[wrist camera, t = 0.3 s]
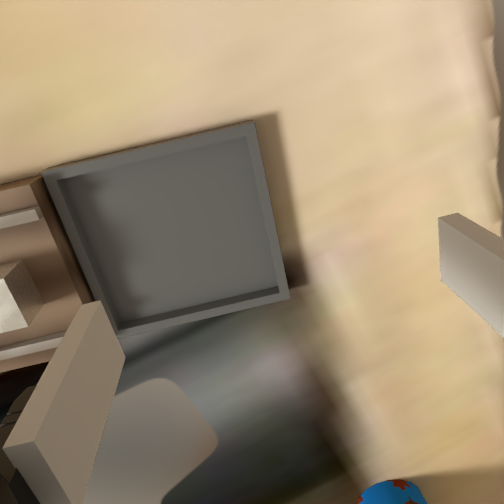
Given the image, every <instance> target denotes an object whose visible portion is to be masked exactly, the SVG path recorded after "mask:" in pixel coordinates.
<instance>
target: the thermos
mask: <svg viewBox="0 0 504 504" xmlns="http://www.w3.org/2000/svg"><path fill="white" fill-rule="evenodd" d="M356 504H427V502H426V501H425V499H424V497H423V495H422V494H421V492H420V490H419V488H418V487H417V486H415V485H414V484H412V483H411V482H408V481H404V480H388V481H384V482H381V483H377V484H375V485H374V486H372V487H370V488H368V489H367V490H366V491H365V492H364V493H363V494H362V495H361V496H360V497H359V498H358V500H357V502H356Z"/></svg>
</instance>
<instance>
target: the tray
mask: <svg viewBox="0 0 504 504" xmlns="http://www.w3.org/2000/svg"><path fill="white" fill-rule="evenodd" d="M41 174H42V176H43V178H44V181H45V183H46V185H47V188H48V190H49V192H50V195H51V197H52V199H53V202H54V204H55V206H56V209H57V211H58V214H59V216H60V218H61V221H62V223H63V225H64V228H65V230H66V232H67V235H68V237H69V239H70V242H71V244H72V246H73V249H74V251H75V253H76V256H77V258H78V260H79V263H80V265H81V268H82V270H83V272H84V275H85V277H86V279H87V282H88V284H89V286H90V289H91V291H92V293H93V296H94V298H95V300H96V301H99V300H101V303H102V305H103V307H104V309H105V312H106V314H107V316H108V319H109V321H110V323H111V326H112V328H113V330H114V332H115V335H116V337H117V339H120V338H124V337H128V336H133V335H137V334H141V333H145V332H150V331H154V330H158V329H163V328H167V327H171V326H175V325H180V324H184V323H188V322H192V321H197V320H201V319H205V318H210V317H214V316H218V315H222V314H227V313H231V312H235V311H239V310H244V309H248V308H252V307H257V306H261V305H265V304H269V303H274V302H278V301H282V300H286V299H290V294H289V289H288V284H287V279H286V274H285V269H284V265H283V260H282V255H281V250H280V245H279V240H278V235H277V230H276V225H275V220H274V216H273V211H272V206H271V201H270V196H269V191H268V186H267V181H266V176H265V171H264V167H263V162H262V157H261V152H260V147H259V142H258V137H257V132H256V127H255V122H254V121H253V120H250V121H246V122H242V123H237V124H233V125H229V126H224V127H220V128H216V129H212V130H207V131H203V132H199V133H195V134H190V135H186V136H182V137H178V138H173V139H169V140H165V141H161V142H156V143H152V144H148V145H144V146H139V147H135V148H131V149H127V150H122V151H118V152H114V153H110V154H105V155H101V156H97V157H93V158H88V159H84V160H80V161H75V162H71V163H67V164H63V165H58V166H54V167H50V168H48V169H46V170H44V171H43V172H41Z"/></svg>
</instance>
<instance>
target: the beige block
mask: <svg viewBox="0 0 504 504" xmlns="http://www.w3.org/2000/svg"><path fill="white" fill-rule="evenodd" d="M43 305H44V303H43V301H42V298H41V296H40V294H39V292H38V290H37V288H36V286H35V284H34V282H33V280H32V278H31V276H30V274H29V272H28V270H27V268H26V266H25V264H24V261H23V259H21V260H17V261H13V262H9V263H4V264H0V333H4V332H8V331H12V330H16V329H21V328H25V327H28V326H29V325H30V324H31V322H32V321H33V319H34V318H35V316H36V315H37V314H38V312H39V311H40V309H41V308H42V307H43Z"/></svg>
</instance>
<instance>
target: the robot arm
mask: <svg viewBox="0 0 504 504" xmlns="http://www.w3.org/2000/svg"><path fill="white" fill-rule="evenodd" d="M438 228H439V250H440V272H441V281H442V282H443V283H444V284H445V285H446V286H447V287H448V288H450V289H451V290H452V291H453V292H454V293H455V294H456V295H457V296H458V297H459V298H460V299H462V300H463V301H464V302H465V303H466V304H467V305H468V306H469V307H470V308H471V309H472V310H474V311H475V312H476V313H477V314H478V315H479V316H480V317H481V318H482V319H483V320H485V321H486V322H487V323H488V324H489V325H490V326H491V327H492V328H493V329H494V330H495V331H497V332H498V333H499V334H500V335H501V336H502V337H503V338H504V239H502V238H501V237H499V236H497V235H495V234H494V233H492V232H490V231H488V230H487V229H485V228H483V227H482V226H480V225H478V224H476V223H475V222H473V221H471V220H469V219H468V218H466V217H464V216H462V215H461V214H459V213H455V214H451V215H447V216H443V217H439V218H438ZM124 360H125V356H124V353H123V351H122V349H121V346H120V344H119V342H118V339H117V337H116V335H115V332H114V330H113V328H112V326H111V323H110V321H109V319H108V316H107V314H106V312H105V309H104V307H103V305H102V303H101V300H99V301H95V302H91V303H87V304H83V305H81V306H80V308H79V309H78V311H77V313H76V315H75V317H74V319H73V320H72V322H71V324H70V326H69V328H68V329H67V331H66V333H65V335H64V337H63V339H62V340H61V342H60V344H59V346H58V348H57V349H56V351H55V353H54V355H53V357H52V359H51V360H50V362H49V364H48V366H47V368H46V370H45V371H44V373H43V375H42V377H41V379H40V380H39V382H38V384H37V385H35V386H31V387H28V388H27V389H26V390H25V391H24V392H23V393H22V394H21V395H20V396H19V397H18V398H17V399H16V400H15V401H14V403H13V404H12V406H11V408H10V409H9V411H8V413H7V416H6V417H5V418H4V419H3V421H2V423H1V425H0V426H1V427H0V504H82V503H83V499H84V496H85V492H86V489H87V486H88V482H89V479H90V476H91V472H92V469H93V465H94V462H95V459H96V455H97V452H98V449H99V445H100V442H101V438H102V435H103V431H104V428H105V424H106V421H107V418H108V414H109V411H110V408H111V404H112V401H113V398H114V394H115V391H116V387H117V384H118V381H119V377H120V374H121V370H122V367H123V364H124Z"/></svg>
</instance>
